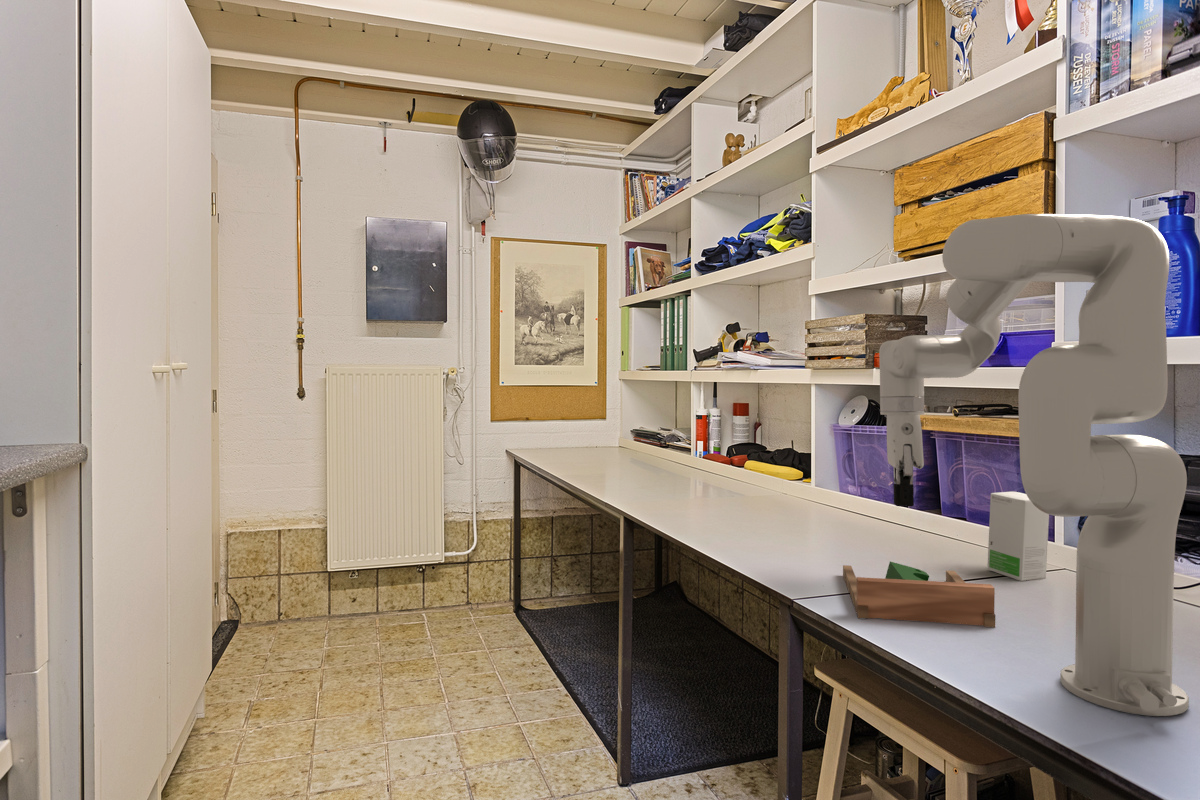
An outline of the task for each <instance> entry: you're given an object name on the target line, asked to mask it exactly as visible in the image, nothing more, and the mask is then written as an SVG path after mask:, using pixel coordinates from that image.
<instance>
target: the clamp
mask: <svg viewBox="0 0 1200 800" xmlns="http://www.w3.org/2000/svg"><path fill="white" fill-rule="evenodd" d="M884 579H901V580H920V581H929V579H930V575H929V574H928V573H927V572H926V571H924V570H923V569H922V570H921V569H918V568H916V567H912V566H908V565H905V564H902V563H897V562H894V561H889V563H888V567H887V571H886V573H885V578H884Z"/></svg>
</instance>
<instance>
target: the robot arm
mask: <svg viewBox="0 0 1200 800" xmlns="http://www.w3.org/2000/svg"><path fill="white" fill-rule="evenodd" d="M942 250H943V251H942V254H941V255H942V256H941V257H942V264H943V268H944V269H945V271H946V272H947V274H949V276H951V277H953V278H954V279H955V280H954V281H953V282H952V284H951V285H950V286H949V287H948V289H947V291H946V299H945V300H946V304H947V307H948V308H949V310H950V311H951V313H952V314H953V315H954V316H955V317H956V318H957V319H958V320H960V321H961V322H963V323H965V324H966V325H967V326H966V327H965V328H964V329H963V330H962V331H961V332H960V333H958V334H926V335H925V334H923V335H922V334H919V335H916V334H914V335H913V334H911V335H906V336H903V337H902V338H899V339H892V340H886V341H884V342H883V343H881V344H880V346H879V352H878V353H879V356H878V357H879V401H880V402H879V406H880V409H879V410H880V411H879V412H880V415H882V416H883V415H884V416H886V452H887V453H886V455H887V463H888V464H889V465H890V466H892V467H893V504H894V505H895V506H896V507H914V505H915V499H914V498H915V497H914V492H915V491H914V490H915V489H914V468H916V469H918V470H921V469H923V468H924V466H925V464H924V462H925V461H924V460H925V459H924V446H923V445H924V444H923V431H922V430H923V429H922V422H921V415H925V379H931V378H932V379H939V378H940V379H941V378H944V379H947V378H949V379H953V378H963V377H966V376H968V375H969V374H972V373H974V371H976V370H977V369H978V368H979V367H980V366H982V365H983V364H984V363H985V362H986V361H987V359H989V358H990V357H991V356H992V354H993V353H994V352H995V350H996V349H997V346H998V344H999V340H1000V336H1001V329H1002V328H1001V325H1002V324H1001V319H1000V315H1002V314H1003V313H1004V312H1005V310H1006V309H1007V308H1008V307H1009V306H1010V305H1011V304H1012V303H1013V302H1014V301H1015V299H1017V297H1018V296H1020V294H1021V293H1022V292H1023V291H1024V290H1026V288H1027V287H1028V286H1029V285H1030V284H1031V283H1092V286H1091V287H1090V288H1089V290H1088V292H1087V294H1086V295H1085V297H1084V298H1083V301H1082V303H1081V306H1080V308H1079V314H1078V330H1079V331H1078V344H1069V345H1067V344H1066V345H1064V344H1063V345H1057V346H1050V347H1048V348H1044V349H1043V350H1041V351H1039V352H1038V353H1036V354H1035V355H1034V356H1033V357H1032V358H1031V359H1030V360H1029V361H1028V363H1027V364H1026V366H1025V368H1024V370H1023V372H1022V374H1021V377H1020V381H1019V385H1018V399H1017V400H1018V434H1019V435H1018V439H1019V465H1020V467H1019V468H1020V476H1021V477H1020V478H1021V483H1022V486H1023V487H1022V488H1023V489H1024V492H1025V494H1026V495H1027V496H1028V498H1029V500H1030V501H1031V502H1032V504H1033V505H1034V506H1035V507H1036V508H1038V509H1039V510H1041V511H1042V512H1044V513H1047V514H1049V516H1054V517H1061V518H1062V517H1063V518H1064V517H1065V518H1068V517H1069V518H1071V517H1087V518H1086V519H1085V521H1084V524H1083V525H1082V527H1081V531H1080V533H1079V536H1078V539H1077V545H1076V572H1075V573H1076V574H1075V580H1076V581H1075V650H1074V651H1075V654H1074V655H1075V657H1074V660H1075V661H1074V662H1075V663H1074V664H1070V665H1067V666H1064V667H1063V668H1061V670H1060V673H1059V674H1060V676H1059V678H1060V679H1059V680H1060V683H1061V685H1062V686H1063V687H1064V688H1065V689H1066V690H1067V691H1069V692H1070V693H1071V694H1073V695H1074V696H1076V697H1079V698H1081V699H1083V700H1084V701H1087V702H1089V703H1092V704H1094V705H1098V706H1100V707H1103V708H1105V709H1111V710H1114V711H1119V712H1124V713H1128V714H1133V715H1139V716H1140V715H1141V716H1149V717H1152V716H1153V717H1170V716H1178V715H1181V714H1183V713H1185V712H1186V711H1188V708H1189V706H1190V704H1189V702H1190V701H1189V700H1190V699H1189V695H1188V694H1187V692H1186V691H1184V690H1183V689H1182V688H1181V687H1179V686H1178V685H1176V684H1175V683H1173V650H1174V649H1173V648H1174V647H1173V645H1174V644H1173V642H1174V636H1173V635H1174V592H1175V591H1174V589H1175V588H1174V585H1175V584H1174V582H1175V581H1174V580H1175V555H1176V540H1177V539H1176V538H1177V530H1178V523H1179V519H1180V513H1181V510H1182V508H1183V505H1184V500H1185V497H1186V496H1185V495H1186V490H1187V481H1188V477H1187V470H1186V466H1185V463H1184V461H1183V459H1182V458H1181V456H1180V454H1179V453H1178V452H1177V451H1176V450H1175V449H1174V448H1173V447H1172V446H1170V445H1169V444H1167V443H1166V442H1163V441H1162V440H1160V439H1157V438H1154V437H1151V436H1147V435H1140V434H1097V435H1092V434H1091V433H1092V425H1106V424H1107V425H1108V424H1109V425H1110V424H1111V425H1112V424H1114V425H1115V424H1127V423H1128V424H1129V423H1137V422H1138V423H1139V422H1142V421H1146V420H1150V419H1152V418H1154V417H1155V416H1157V415H1158V414H1159V413H1160V412H1161V411H1162V410H1163V408H1164V406H1165V404H1166V401H1167V397H1168V388H1169V387H1168V383H1169V382H1168V381H1169V379H1168V351H1167V322H1166V321H1167V320H1166V298H1167V297H1166V296H1167V288H1168V281H1169V280H1168V279H1169V271H1170V251H1169V248H1168V244H1167V241H1166V240H1165V238H1164V236H1163V235H1162V233H1161V232H1160V231H1159V230H1158V229H1157V228H1156V227H1154V226H1153V225H1151V224H1150V223H1149V222H1145V221H1144V220H1143V221H1142V220H1141V219H1140V220H1139V219H1137V218H1133V217H1132V218H1131V217H1125V216H1119V215H1105V214H1104V215H1103V214H1102V215H1101V214H1061V213H1059V214H1058V213H1054V214H1053V213H1025V214H1024V213H1023V214H1015V215H1005V216H998V217H997V216H996V217H990V218H989V217H987V218H979V219H970V220H967V221H965V222H963V223H962V224H960V225H958V226H957V227H956V228H955V229H954V230H953V231H952V232H951V233H950V234H949V236H948V237H947V239H946V241H945V243H944V246H943V249H942Z"/></svg>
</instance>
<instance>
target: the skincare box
mask: <svg viewBox="0 0 1200 800" xmlns="http://www.w3.org/2000/svg"><path fill="white" fill-rule="evenodd" d="M989 500H990V503H989V522H988V523H989V524H988V525H989V526H988V527H989V528H988V544H987V545H988V549H987V568H986V569H987V570H988V571H990V572H995V573H997V574H999V575H1003V576H1005V577H1008V578H1012V579H1014V580H1017V581H1020V582H1026V580H1027V581H1033V580H1041V579H1046V578H1047V563H1048V546H1049V545H1048V543H1049V541H1048V540H1049V526H1050V525H1049V524H1050V523H1049V522H1050V515H1049V514H1047V513H1044V512H1042V511H1041V510H1039V509H1038V508H1036V507H1035V506H1034V505H1033V504H1032V502H1031V501H1030V500H1029V498H1028V496H1027V495H1026V493H1023V492H1019V491H1018V492H1017V491H1001V492H991V493H990V499H989Z"/></svg>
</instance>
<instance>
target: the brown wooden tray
mask: <svg viewBox="0 0 1200 800" xmlns="http://www.w3.org/2000/svg"><path fill="white" fill-rule="evenodd" d="M842 576H843V579H844V582H845V584H846V588H847V591H848V590H849V591H848V593H850V594H849V596H850V599H851V598H852V599H851V602H852V601H853V602H852V605H853V604H854V605H853V608H854V607H855V608H854V610H855V613H856V612H857V613H856V616H857V615H858V616H857V618H858V619H861V618H867V619H866V620H869V619H876V618H882V619H881V620H891V619H896V620H895V621H906V620H908V621H910V622H923V623H937V624H939V623H941V624H956V625H968V626H970V625H971V626H982V627H985V628H996V614H995V604H996V603H995V598H996V597H995V594H996V593H995V590H996V589H995V587H994V586H993V584H990V583H977V582H975V583H973V582H965V580H964V579H962V577H961V576H960V575H959V574H958V573H957V572H956V571H955V570H945V581H936V580H933V581H932V580H928V581H920V580H901V579H885V578H879V577H861V576H856V574H855V572H854V570H853V567H852V565H845V564H842ZM908 621H907V622H908Z"/></svg>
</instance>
